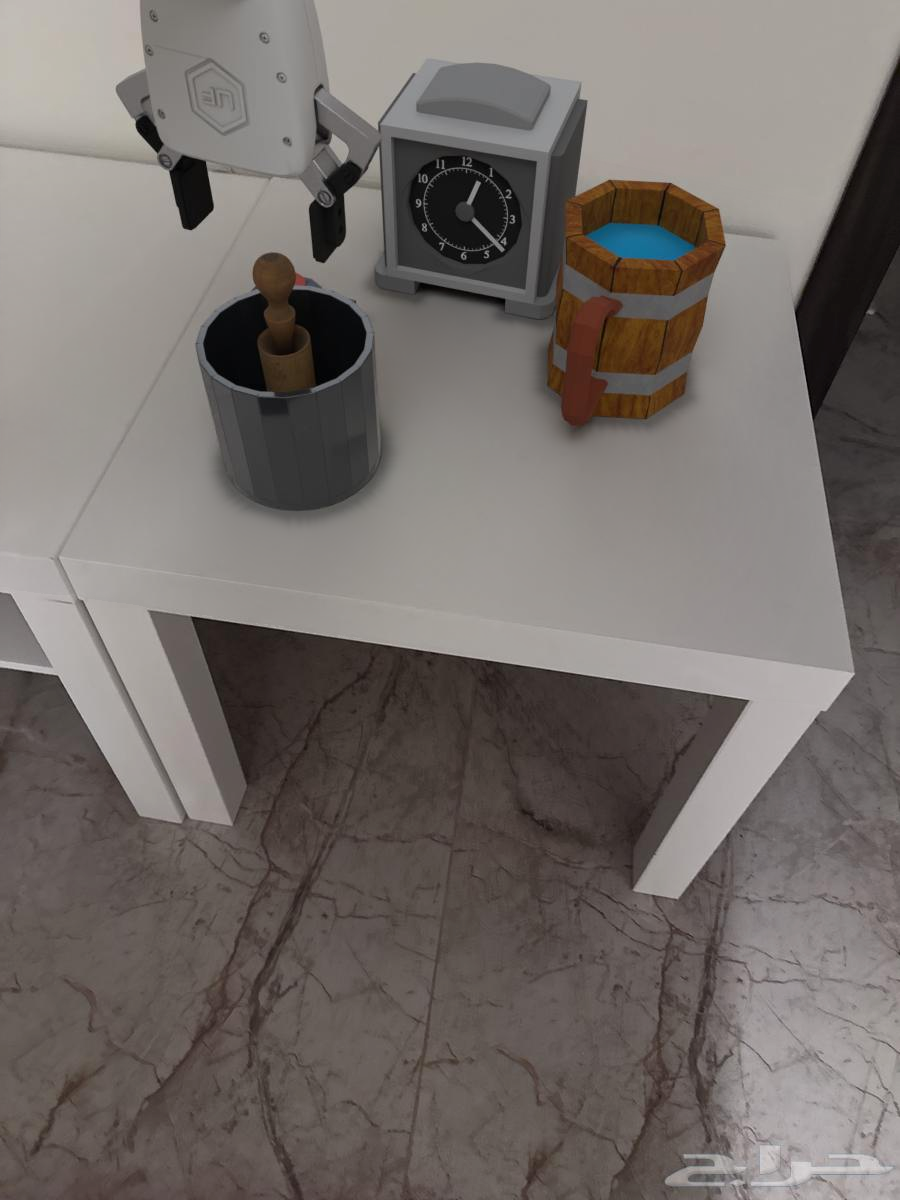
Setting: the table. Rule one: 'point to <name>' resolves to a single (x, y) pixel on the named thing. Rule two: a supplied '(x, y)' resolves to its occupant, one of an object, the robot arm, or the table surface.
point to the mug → (630, 297)
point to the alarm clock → (479, 182)
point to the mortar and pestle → (282, 328)
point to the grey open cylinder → (294, 402)
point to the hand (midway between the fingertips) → (262, 235)
